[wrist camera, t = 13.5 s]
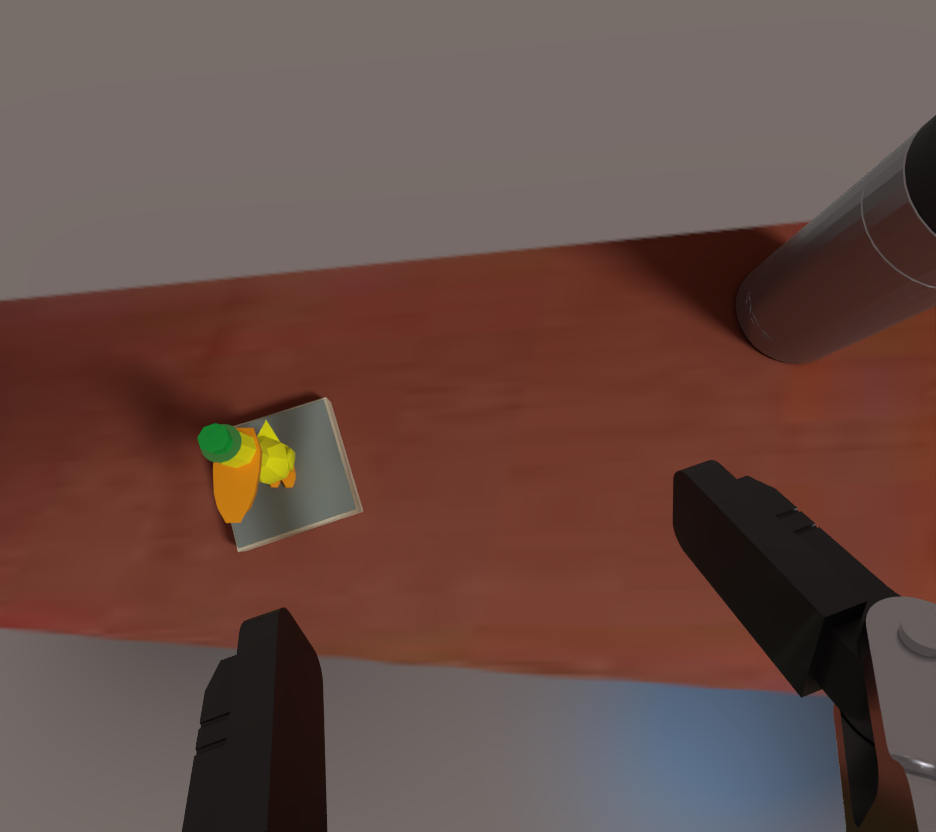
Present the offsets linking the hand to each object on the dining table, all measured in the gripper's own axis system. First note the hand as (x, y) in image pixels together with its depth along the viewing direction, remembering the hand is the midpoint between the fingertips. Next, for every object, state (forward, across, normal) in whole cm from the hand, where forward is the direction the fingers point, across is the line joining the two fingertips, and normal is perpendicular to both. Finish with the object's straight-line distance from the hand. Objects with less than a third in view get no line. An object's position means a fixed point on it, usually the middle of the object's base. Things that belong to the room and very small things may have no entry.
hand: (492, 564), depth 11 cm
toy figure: (+26, +11, +14) cm, 32 cm away
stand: (+28, +11, +16) cm, 34 cm away
